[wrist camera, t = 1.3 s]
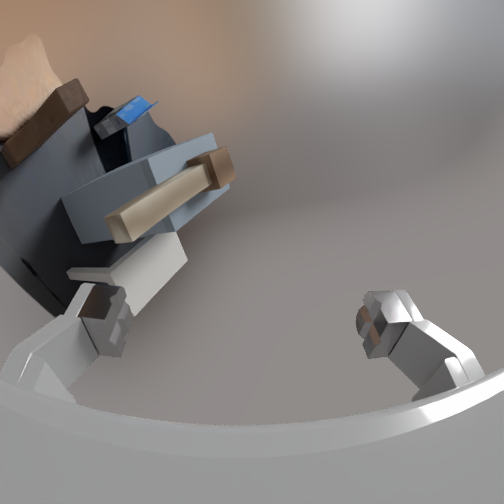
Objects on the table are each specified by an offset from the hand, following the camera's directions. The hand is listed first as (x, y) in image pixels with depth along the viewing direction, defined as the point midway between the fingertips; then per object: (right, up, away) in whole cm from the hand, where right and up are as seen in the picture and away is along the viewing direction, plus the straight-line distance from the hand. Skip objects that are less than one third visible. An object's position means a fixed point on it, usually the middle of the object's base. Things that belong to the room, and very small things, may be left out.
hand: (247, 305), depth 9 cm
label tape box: (-32, +30, +43) cm, 61 cm away
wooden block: (-40, +20, +25) cm, 52 cm away
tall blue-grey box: (-31, +12, +42) cm, 53 cm away
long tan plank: (-10, +9, +25) cm, 29 cm away
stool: (-30, -1, +42) cm, 52 cm away
